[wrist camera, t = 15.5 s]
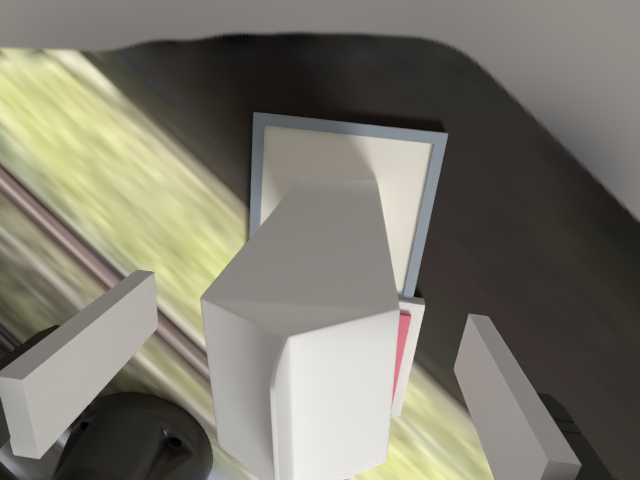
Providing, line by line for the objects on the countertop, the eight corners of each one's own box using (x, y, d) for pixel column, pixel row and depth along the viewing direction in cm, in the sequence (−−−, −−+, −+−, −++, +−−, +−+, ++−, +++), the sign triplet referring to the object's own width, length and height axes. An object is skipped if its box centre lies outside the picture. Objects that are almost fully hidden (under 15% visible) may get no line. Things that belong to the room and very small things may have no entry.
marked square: (250, 279, 33) (247, 283, 32) (256, 112, 28) (253, 112, 27) (410, 301, 32) (411, 306, 31) (445, 132, 27) (448, 133, 26)
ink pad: (276, 387, 37) (272, 399, 35) (284, 278, 32) (280, 287, 31) (398, 407, 36) (400, 420, 34) (423, 298, 32) (426, 307, 30)
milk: (377, 179, 28) (424, 386, 7) (373, 253, 30) (401, 575, 10) (298, 177, 29) (137, 365, 8) (299, 250, 31) (174, 548, 10)
